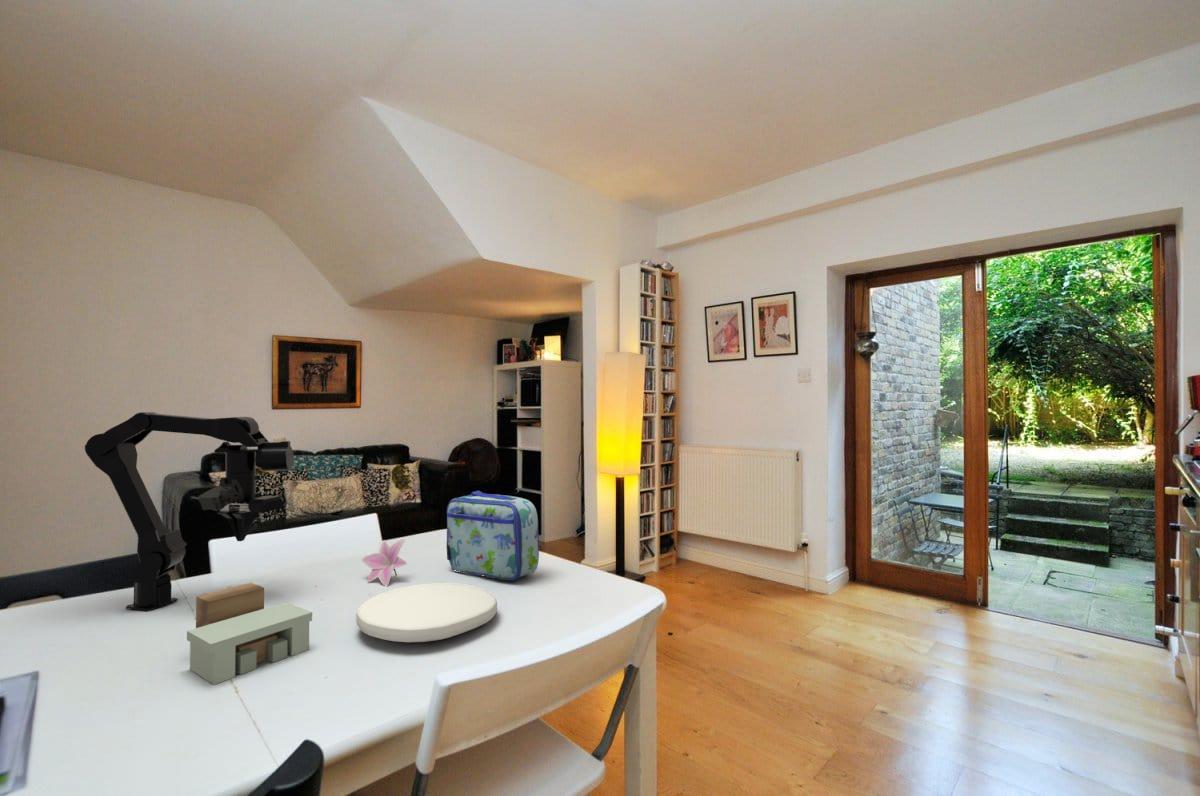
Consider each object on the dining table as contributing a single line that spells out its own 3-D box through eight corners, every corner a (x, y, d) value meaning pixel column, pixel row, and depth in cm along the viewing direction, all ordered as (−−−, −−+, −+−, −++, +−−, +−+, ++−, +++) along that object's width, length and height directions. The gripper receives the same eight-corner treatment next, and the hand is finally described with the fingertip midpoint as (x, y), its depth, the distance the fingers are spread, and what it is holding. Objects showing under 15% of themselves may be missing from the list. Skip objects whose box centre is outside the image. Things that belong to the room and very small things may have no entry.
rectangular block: (195, 653, 97) (196, 596, 97) (250, 635, 104) (251, 582, 105) (229, 672, 90) (230, 611, 90) (285, 652, 97) (286, 595, 97)
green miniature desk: (186, 670, 90) (186, 630, 91) (286, 636, 104) (286, 602, 104) (210, 685, 85) (210, 644, 86) (311, 648, 99) (312, 612, 99)
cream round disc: (408, 574, 127) (516, 583, 122) (405, 603, 127) (515, 613, 121) (325, 604, 100) (460, 616, 95) (322, 641, 99) (458, 656, 94)
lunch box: (439, 570, 146) (440, 492, 146) (469, 561, 155) (469, 487, 155) (514, 588, 132) (515, 501, 132) (542, 576, 141) (542, 495, 141)
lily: (360, 580, 141) (349, 552, 136) (402, 555, 148) (393, 528, 143) (381, 605, 133) (370, 577, 129) (424, 577, 140) (415, 550, 136)
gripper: (173, 475, 119) (173, 547, 119) (242, 477, 114) (242, 552, 114) (220, 469, 130) (220, 535, 129) (285, 471, 125) (285, 539, 125)
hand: (240, 540), depth 124 cm, fingers closed
